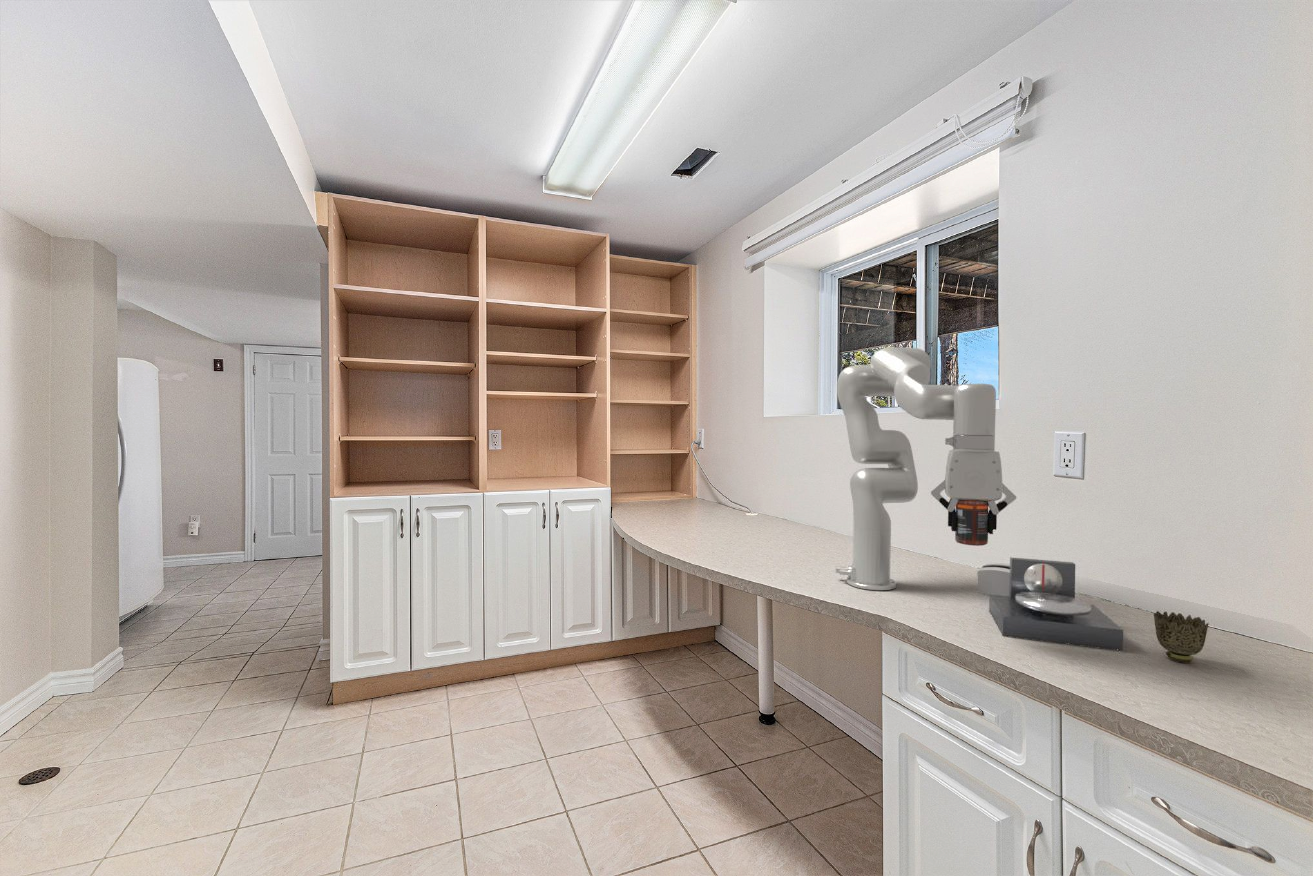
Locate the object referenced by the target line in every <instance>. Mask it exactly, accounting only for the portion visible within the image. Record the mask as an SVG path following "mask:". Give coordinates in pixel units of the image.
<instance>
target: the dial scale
mask: <svg viewBox="0 0 1313 876" xmlns="http://www.w3.org/2000/svg"><path fill="white" fill-rule="evenodd" d="M1009 564H1010V585H1009V596H1001V595H991V594H989V595H988V599H989V600H988V601H989V602H988V612H989V613H990V616H991V615H992V616H991V617H993V618H992V619H993V621H994V622H995V625H996V624H997V625H996V626H997V628H998V630H999V632H1000V634H1001V633H1002V634H1001V635H1002V636H1003V637H1008V636H1012V637H1011V638H1016V637H1018V639H1024V638H1027V639H1026V640H1032V639H1034V641H1040V640H1043V641H1042V642H1048V643H1049V642H1050V643H1056V644H1064V643H1067V644H1066V645H1072V644H1073V646H1080V645H1084V646H1083V647H1088V646H1089V648H1090V647H1091V648H1096V647H1099V649H1104V648H1105V649H1106V650H1113V649H1115V650H1114V651H1121V650H1123V651H1124V629H1123V628H1121V626H1119V625H1118V624H1117V623H1116V622H1115V621H1113V620H1112V619H1111V618H1110V617H1109V616H1107V614H1105V613H1104V612H1103V611H1101V610H1100V608H1098V607H1097V606H1095V604H1090V603H1088V602H1086V601H1084V600H1081V599H1079V598H1075V597H1076V563H1074V562H1073V561H1060V560H1048V559H1047V560H1046V559H1033V558H1023V557H1021V558H1020V557H1011V556H1010V557H1009ZM1057 642H1058V643H1057ZM1068 643H1069V644H1068ZM1117 649H1118V650H1117Z"/></svg>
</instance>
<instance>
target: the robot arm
mask: <svg viewBox="0 0 1313 876" xmlns="http://www.w3.org/2000/svg"><path fill="white" fill-rule="evenodd" d="M931 363H932V362H931V358H930V356H929V354H928V353H927V352H926V351H924V350H923V349H922V348H918V347H898V346H897V347H896V346H891V347H890V346H889V347H888V346H887V347H883V348H880V349H878V350H877V351H875V353H873V355H872V356H871V359H870V364H859V365H851V366H848V367H845V368H844V369H843V370H842V371H841V372H840V373H839V376H838V378H837V383H836V393H837V399H838V402H839V405H840V408H841V410H842V412H843V415H844V418H845V424H846V430H847V437H848V443H849V449H850V453H851V456H852V459H853V461H854V462H855V463H858V464H863V465H887V467H864V468H861V469H857V470H856V471H855V472H853V474H852V475H851V478H850V481H849V486H850V487H849V489H850V495H851V498H852V499H851V500H852V505H853V506H852V508H853V509H852V510H853V512H852V513H853V514H852V515H853V517H852V518H853V522H852V523H853V532H852V534H853V535H852V537H853V538H852V539H853V540H852V543H853V545H852V563H851V566H850V565H848V566H847V567H846V566H843V565H842V566H841V565H836V566H835V573H836V574H839V575H841V576H842V575H843V576H847V577H846V583H847V584H848V585H849V586H853V587H855V588H859V589H862V590H863V589H864V590H869V591H870V590H871V591H890V590H894V589H896V588H897V581H895V580H894V579H892V578H891V557H892V556H891V551H892V549H891V546H892V543H891V540H892V520H891V516H890V514H889V513H888V511H887V509H886V508H885V506H884V504H899V503H900V504H902V503H910V502H911V501H913V500H914V499H915V498H916V497H917V494H918V490H919V485H918V477H917V470H916V466H915V460H914V455H913V449H912V445H911V442H910V440H909V438H908V437H907V435H906V434H905V433H903V432H902V431H899V430H895V429H894V430H893V429H882V428H881V426H880V422H879V416H878V413H877V411H876V409H875V408H874V406H873V405H872V403H870V402H869V401H868V400H867V399H866V397H894V399H895V402H896V404H897V405H898V407H899V408H900V409H902V411H904V412H906V413H907V414H909V415H911V416H912V417H914V418H916V419H920V420H926V421H927V420H932V421H933V420H940V421H941V420H942V421H944V420H945V421H953V425H952V427H953V428H952V429H953V433H952V434H953V435H952V436H951V437H949V438H948V437H946V438H945V440H944V441H945V442H944V443H945V445H948V446H951V447H952V450H949V451H948V455H947V461H946V467H945V475H944V476H945V477H944V480H943V481H942V482H940V484H938V485H937V486H936V487H935V488H934V489H933V490H931V492H930V495H931V496H932V497H933V498H934V499H936V501H938V502H939V503H940V504H941V505H942V506H943V507H944V508H945V509H946V510H947V527H950V530H951V532H955V531H956V518H957V513H956V504H957V502H958V500H959V499H962V500H980V501H987V502H988V535H994V531H995V530H997V527H998V526H997V525H998V524H997V521H998V520H997V519H998V514H999V513H1001V511H1003V510H1004V509H1005V508H1007V507H1008V506H1010V504H1012V503H1013V502H1014V501H1015V500H1016V499H1017V496H1016V495H1015V494H1014V493H1013V491H1011V490H1010V489H1009V488H1008V487H1007V486H1006V485H1005V484H1004V483H1003V468H1002V461H1001V460H1002V459H1001V454H1000V451H995V449H996V448H995V447H996V445H995V444H996V439H995V438H996V412H997V411H996V406H997V405H996V404H997V390H996V388H995V386H994V385H992V384H990V383H964V384H959V385H951V384H949V385H948V384H947V385H946V384H930V380H931V371H930V370H931V365H932V364H931ZM943 491H944V492H945V495H946V497H948V498H950V499H949V501H948V500H947V499H946V498H945V497H944V496H942V494H941V493H942V492H943ZM1003 495H1004V496H1005V497H1004V498H1003ZM1002 498H1003V499H1002ZM1001 499H1002V500H1001ZM996 501H998V502H997V503H996Z"/></svg>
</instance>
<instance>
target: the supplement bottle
mask: <svg viewBox="0 0 1313 876" xmlns="http://www.w3.org/2000/svg"><path fill="white" fill-rule="evenodd" d="M955 511H956V513H957V518H956V531H954V532H955V535H954V537H955V538H954V539H955V542H956V543H958V544H961V545H966V546H973V547H974V546H977V547H978V546H979V547H980V546H985V545H987V544H988V543H989V541H988V540H989V533H988V512H989V506H988V502H987V501H980V500H962V499H959V500H958V502H957V504H956V507H955Z"/></svg>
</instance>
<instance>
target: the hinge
mask: <svg viewBox="0 0 1313 876" xmlns="http://www.w3.org/2000/svg"><path fill="white" fill-rule="evenodd" d="M976 575H977V588H978V589H977V590H978V594H981V593H983V594H982V595H985V596H989V594H991V595H1001V596H1009V585H1010V563H1009V564H1008V563H997V562H996V563H986V564H985V565H982V566H981V567H980V568H979V569H978V571H977V574H976Z"/></svg>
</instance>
